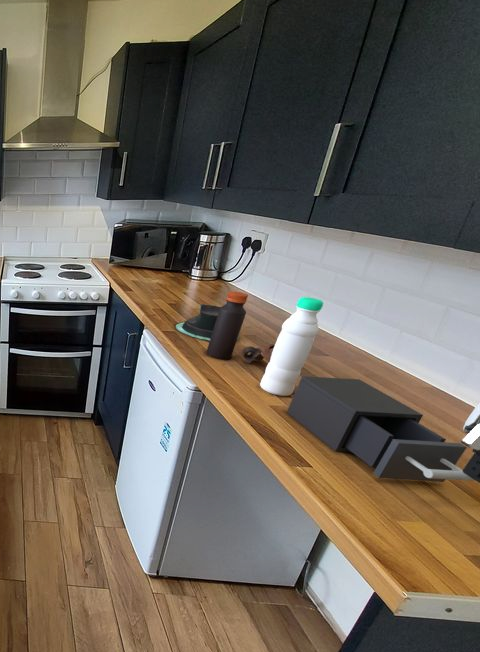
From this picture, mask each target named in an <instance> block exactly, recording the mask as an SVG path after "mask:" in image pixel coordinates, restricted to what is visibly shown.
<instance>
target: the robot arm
mask: <svg viewBox="0 0 480 652" xmlns="http://www.w3.org/2000/svg"><path fill="white" fill-rule="evenodd" d="M462 430H463V433H464V434H467V435H465V436H464V437H463V438H462V439H461V441H460V443H461V444H462V445H464V446H466V447H467V448H469V449H471V450H472V453H473V454H472V456H471V458H470V459H469V460H468V462H467V463H466V464H465V466H464V467H463V469H462V470H463V473H464V474H466V475H468V476H469V477H471V478H472V479H474V480H473V481H475V482H477V483H479V484H480V401H479V402H478V404H477V405H476V406H475V407H474V408H473V410H472V411H471V413H470V414H469V416H468V418H467V419H466V421H465V422H464V425H463V427H462Z"/></svg>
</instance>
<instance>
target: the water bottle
mask: <svg viewBox="0 0 480 652" xmlns="http://www.w3.org/2000/svg"><path fill="white" fill-rule="evenodd" d="M323 306H324V301H323V300H321V299H320V298H319V299H318V298H315V297H309V296H302V297H299V299H298V300H297V302H296V311H295V312H294V313H292V314H291V315H290V317H288V318H287V319H285V321H284V322H283V324H282V326H281V330H280V332H279V335H278V336H277V339H276V341H275V346H274V349H272V352H271V354H272V355H271V359H270V362H267V365H266V366H265V371H264V374H263V376H262V378H261V380H260V383H259V386H260V388H261V389H262V390H263V391H265V392H267V393H268V394H271V395H274V396H279V397H288V396H291V395H292V394H293V393H294V390H295V387H296V384H297V381H298V380H299V378H300V376H301V372H302V369H303V367H304V365H305V363H306V361H307V359H308V357H309V354H310V352H311V350H312V348H313V344H314V341H315V337H317V335H318V334H319V331H320V329H319V324H318V322H319V321H318V318H317V315H318V313H320V311H321V310H322V308H323Z"/></svg>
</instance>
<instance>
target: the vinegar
mask: <svg viewBox="0 0 480 652" xmlns="http://www.w3.org/2000/svg"><path fill="white" fill-rule="evenodd" d="M248 297H249V295H248V294H247V293H245V292H241V291H228V293H227V296H226V303H225V304H223V305H222V306H220V307H221V308H220V310H219V313H218V316H217V319H216V322H215V326H214V329H213V332H212V335H211V339H210V340H209V343H208V345H207V349H206V354H207V355H208V356H209V357H211V358H215V359H217V360H226V361H227V360H229V359H231V358H232V355H233V354H234V351H235V347H236V344H237V342H238V339H239V338H238V336H240V332H241V330H242V326H243V323H244V321H245V318H246V315H247V311H246V309H245V308H244V305H245V304H246V303H247V299H248ZM237 338H238V339H237Z"/></svg>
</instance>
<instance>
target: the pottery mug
mask: <svg viewBox="0 0 480 652" xmlns="http://www.w3.org/2000/svg"><path fill="white" fill-rule="evenodd" d="M275 344H276V343H275ZM275 344H274V343H269V344H268V345H261V346H258V347H254V346H251V345H250V346H246V347H243V349H242V350H241V355H242V358H243V359H244V360H246V361H245V363H247V364H248V365H249V364H252V363H253V361H254V360H255V361H257V362H260V363H261V362H262V361H263V360H266V361H267V363H269V362H270V359H271V355H272V352H271V351H270V350H273V349H274V346H275Z"/></svg>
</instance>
